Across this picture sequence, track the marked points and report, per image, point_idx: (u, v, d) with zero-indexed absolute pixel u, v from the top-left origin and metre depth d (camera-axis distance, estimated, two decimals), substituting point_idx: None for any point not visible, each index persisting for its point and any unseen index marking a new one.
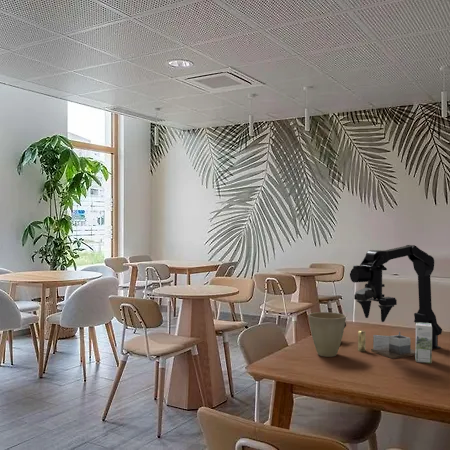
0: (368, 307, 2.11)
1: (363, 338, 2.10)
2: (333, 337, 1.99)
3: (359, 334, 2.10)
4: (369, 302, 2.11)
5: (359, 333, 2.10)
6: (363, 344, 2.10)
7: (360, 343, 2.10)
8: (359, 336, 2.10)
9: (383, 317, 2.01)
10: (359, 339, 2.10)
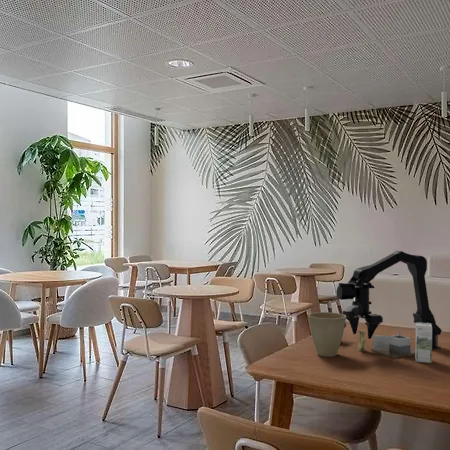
0: (356, 323, 2.16)
1: (363, 338, 2.10)
2: (333, 337, 1.99)
3: (359, 334, 2.10)
4: (357, 319, 2.17)
5: (359, 333, 2.10)
6: (363, 344, 2.10)
7: (360, 343, 2.10)
8: (359, 336, 2.10)
9: (370, 334, 2.06)
10: (359, 339, 2.10)
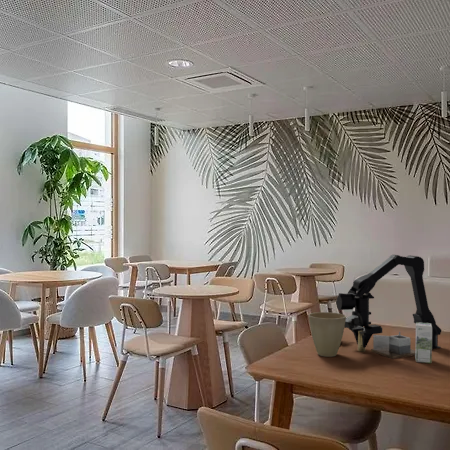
0: None
1: None
2: (333, 337, 1.99)
3: (359, 334, 2.10)
4: (361, 330, 2.14)
5: (359, 333, 2.10)
6: None
7: (360, 343, 2.10)
8: (359, 336, 2.10)
9: (364, 343, 2.09)
10: (359, 339, 2.10)
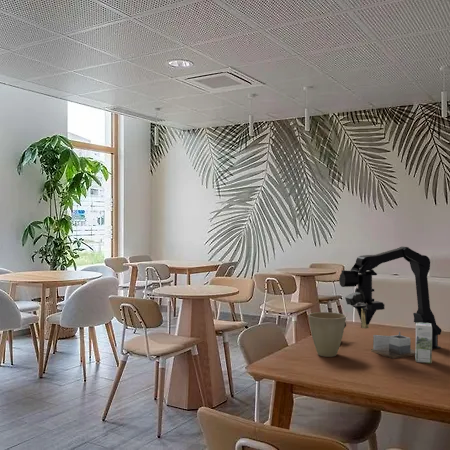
0: None
1: None
2: (333, 337, 1.99)
3: (362, 311, 2.10)
4: (365, 307, 2.13)
5: (362, 310, 2.10)
6: None
7: (363, 320, 2.10)
8: (362, 313, 2.10)
9: (367, 320, 2.08)
10: (362, 316, 2.10)
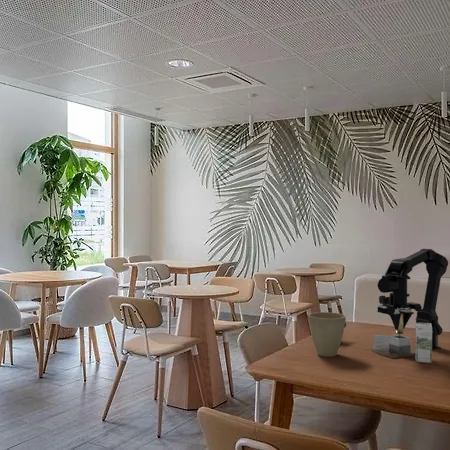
0: (405, 318, 2.05)
1: None
2: (333, 337, 1.99)
3: None
4: (406, 314, 2.05)
5: None
6: None
7: None
8: None
9: (394, 324, 2.05)
10: None
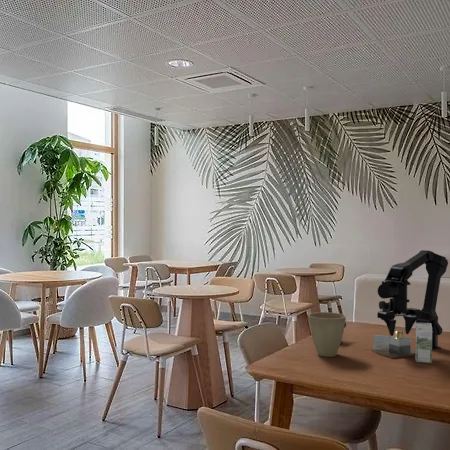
0: (410, 324, 2.06)
1: None
2: (333, 337, 1.99)
3: None
4: (411, 319, 2.06)
5: None
6: None
7: None
8: None
9: (389, 331, 2.04)
10: None
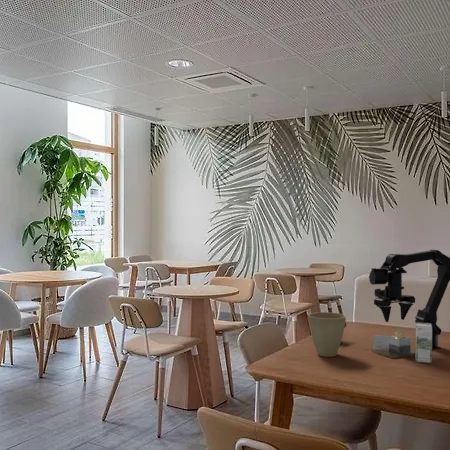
0: (405, 310, 2.15)
1: None
2: (333, 337, 1.99)
3: None
4: (406, 305, 2.15)
5: None
6: None
7: None
8: None
9: (384, 317, 2.12)
10: None
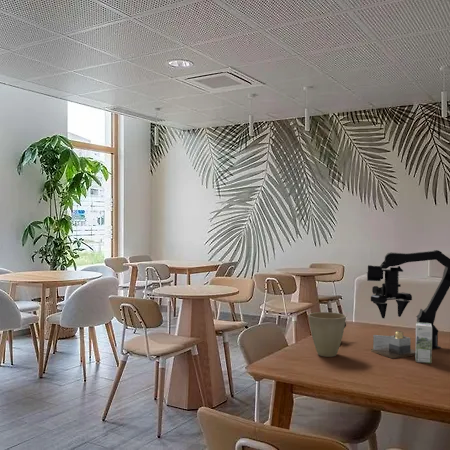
0: (402, 307, 2.21)
1: None
2: (333, 337, 1.99)
3: None
4: (403, 303, 2.21)
5: None
6: None
7: None
8: None
9: (381, 313, 2.19)
10: None
